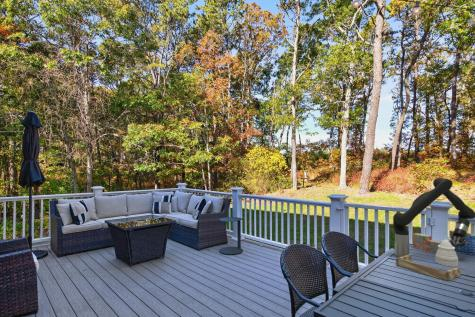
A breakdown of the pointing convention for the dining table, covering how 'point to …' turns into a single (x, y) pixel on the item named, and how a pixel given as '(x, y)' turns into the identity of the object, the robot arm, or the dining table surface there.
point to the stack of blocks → (425, 243)
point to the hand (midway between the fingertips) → (453, 249)
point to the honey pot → (446, 254)
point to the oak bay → (427, 269)
